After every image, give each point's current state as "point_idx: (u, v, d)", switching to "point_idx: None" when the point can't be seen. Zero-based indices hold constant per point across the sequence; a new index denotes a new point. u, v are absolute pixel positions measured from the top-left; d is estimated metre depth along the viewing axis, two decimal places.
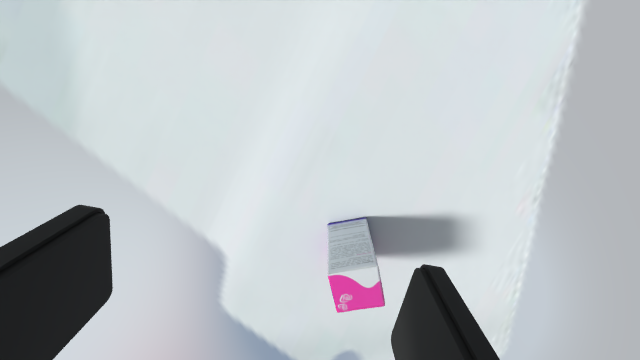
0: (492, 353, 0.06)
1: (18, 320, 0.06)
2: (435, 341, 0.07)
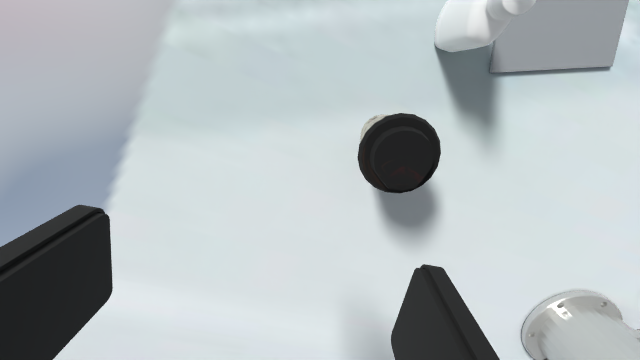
0: (492, 353, 0.06)
1: (18, 320, 0.06)
2: (435, 341, 0.07)
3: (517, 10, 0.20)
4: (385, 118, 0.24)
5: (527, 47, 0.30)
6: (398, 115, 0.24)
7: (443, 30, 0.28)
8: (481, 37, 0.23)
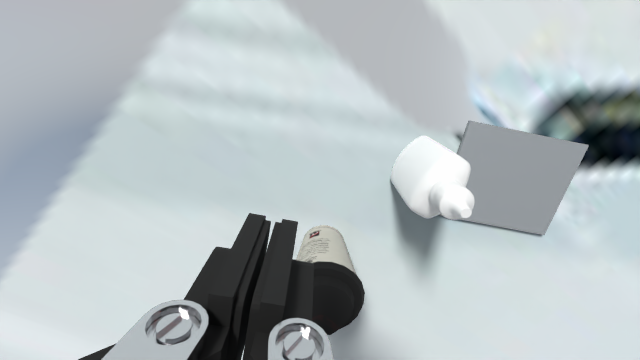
0: (285, 278, 0.07)
1: (247, 309, 0.08)
2: None
3: (451, 217, 0.21)
4: (316, 264, 0.24)
5: None
6: (329, 264, 0.24)
7: (397, 176, 0.28)
8: (421, 213, 0.24)
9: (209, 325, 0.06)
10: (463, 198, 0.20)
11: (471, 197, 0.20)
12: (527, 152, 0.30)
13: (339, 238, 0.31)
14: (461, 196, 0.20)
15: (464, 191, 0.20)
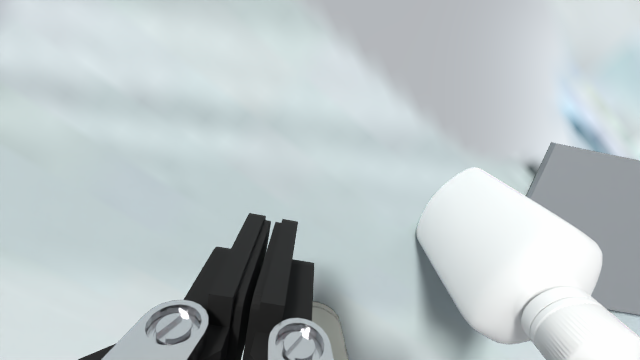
0: (285, 278, 0.07)
1: (247, 309, 0.08)
2: None
3: None
4: None
5: None
6: None
7: (432, 239, 0.16)
8: (494, 338, 0.12)
9: (209, 325, 0.06)
10: None
11: None
12: None
13: (333, 330, 0.19)
14: (627, 357, 0.08)
15: (631, 342, 0.08)
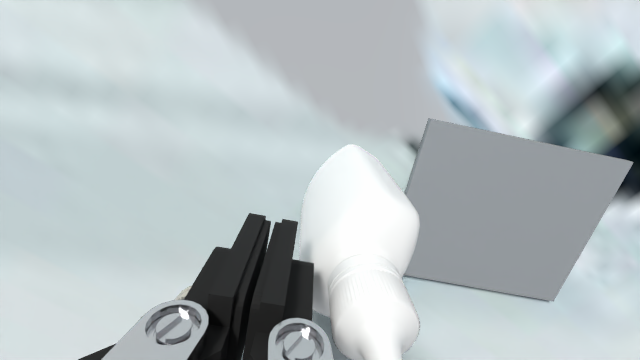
0: (285, 278, 0.07)
1: (247, 309, 0.08)
2: None
3: None
4: None
5: (440, 251, 0.19)
6: None
7: (302, 218, 0.16)
8: (322, 313, 0.11)
9: (209, 325, 0.06)
10: (388, 327, 0.08)
11: (410, 319, 0.08)
12: (529, 173, 0.17)
13: None
14: (384, 321, 0.08)
15: (392, 306, 0.08)
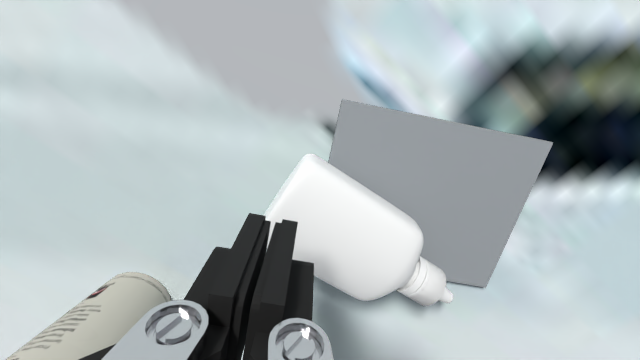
0: (285, 278, 0.07)
1: (247, 309, 0.08)
2: None
3: None
4: None
5: None
6: None
7: (301, 255, 0.16)
8: None
9: (209, 325, 0.06)
10: None
11: None
12: (448, 155, 0.17)
13: (138, 299, 0.18)
14: None
15: None
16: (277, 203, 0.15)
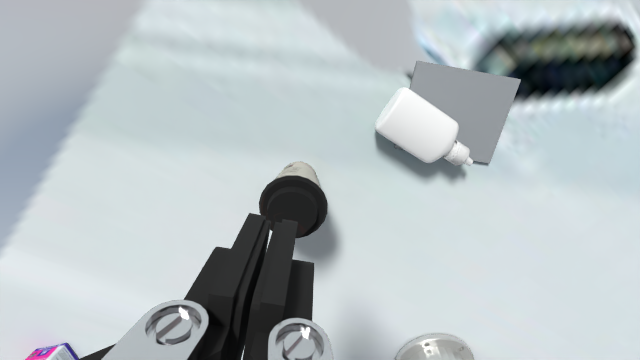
0: (285, 278, 0.07)
1: (247, 309, 0.08)
2: None
3: None
4: (284, 177, 0.29)
5: None
6: (295, 177, 0.29)
7: (400, 135, 0.33)
8: None
9: (209, 325, 0.06)
10: None
11: None
12: (468, 87, 0.34)
13: (310, 169, 0.36)
14: None
15: None
16: (392, 107, 0.32)
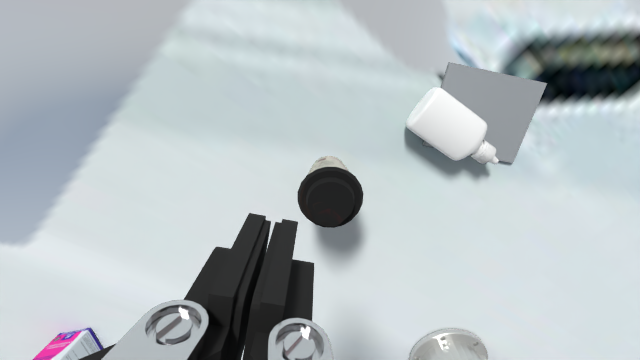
0: (285, 278, 0.07)
1: (247, 309, 0.08)
2: None
3: None
4: (324, 168, 0.31)
5: None
6: (335, 168, 0.31)
7: (432, 133, 0.35)
8: None
9: (209, 325, 0.06)
10: None
11: None
12: (497, 89, 0.36)
13: (342, 163, 0.37)
14: None
15: None
16: (425, 106, 0.34)
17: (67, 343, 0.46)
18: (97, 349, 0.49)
